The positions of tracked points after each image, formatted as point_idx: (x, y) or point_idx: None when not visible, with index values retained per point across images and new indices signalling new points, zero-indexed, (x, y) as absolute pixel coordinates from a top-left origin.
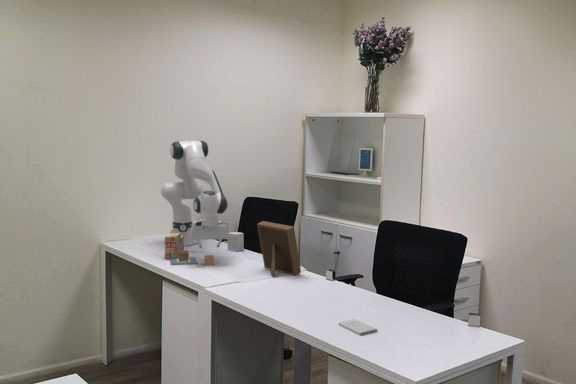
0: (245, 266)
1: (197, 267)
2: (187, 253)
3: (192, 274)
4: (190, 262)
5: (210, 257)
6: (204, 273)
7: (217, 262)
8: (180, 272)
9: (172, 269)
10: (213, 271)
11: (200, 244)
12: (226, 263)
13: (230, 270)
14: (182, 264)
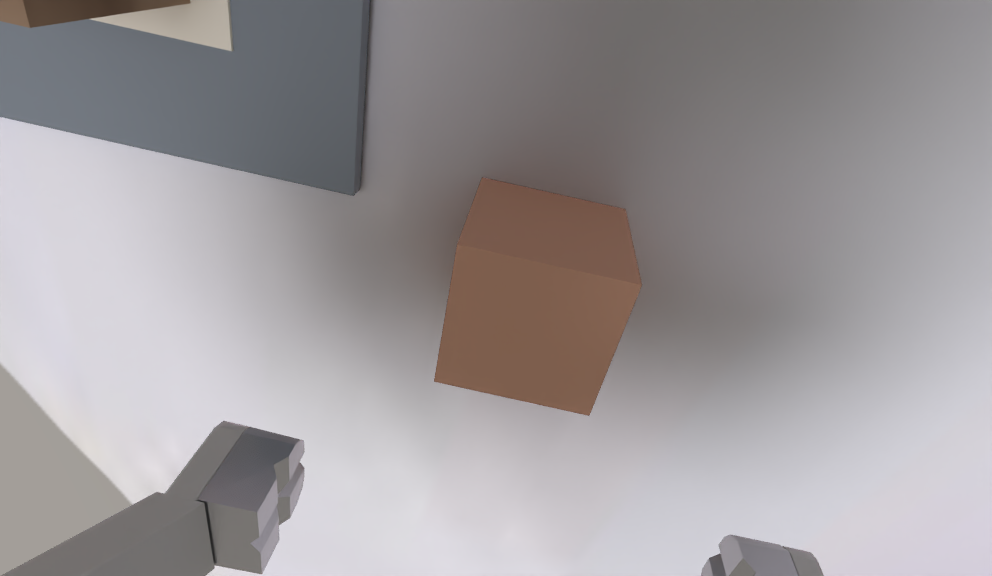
0: (926, 516)
1: (334, 348)
2: (32, 17)
3: None
4: (232, 106)
5: (526, 397)
6: (374, 544)
7: (720, 197)
8: (141, 446)
9: (25, 318)
10: (476, 529)
11: (219, 528)
12: (815, 311)
13: (656, 561)
14: (110, 135)
